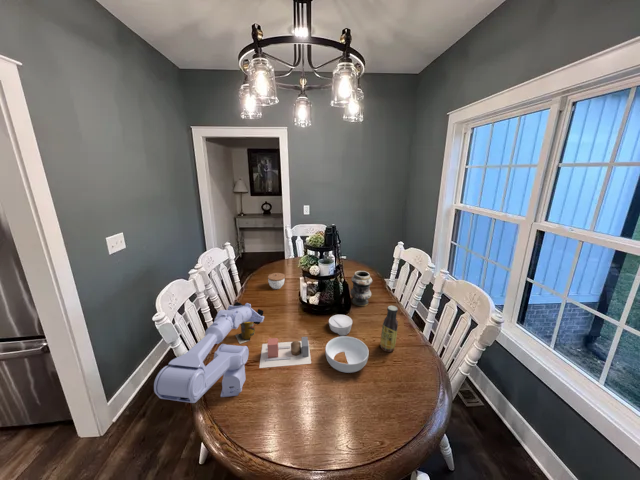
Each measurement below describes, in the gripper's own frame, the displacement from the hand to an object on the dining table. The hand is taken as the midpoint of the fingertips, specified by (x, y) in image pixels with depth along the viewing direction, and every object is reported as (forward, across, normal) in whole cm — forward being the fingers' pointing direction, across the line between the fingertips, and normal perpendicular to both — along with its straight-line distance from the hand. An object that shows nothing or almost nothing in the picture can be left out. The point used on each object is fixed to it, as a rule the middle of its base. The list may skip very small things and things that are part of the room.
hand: (253, 310), depth 108 cm
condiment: (+12, +3, +15) cm, 20 cm away
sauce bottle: (+13, -59, 0) cm, 60 cm away
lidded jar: (+59, +9, -6) cm, 60 cm away
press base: (+3, -18, +14) cm, 23 cm away
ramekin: (+22, -37, +1) cm, 43 cm away
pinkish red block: (+1, -13, +14) cm, 19 cm away
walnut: (+3, -22, +11) cm, 25 cm away
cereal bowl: (+2, -43, +8) cm, 44 cm away
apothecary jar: (+48, -44, -13) cm, 67 cm away
